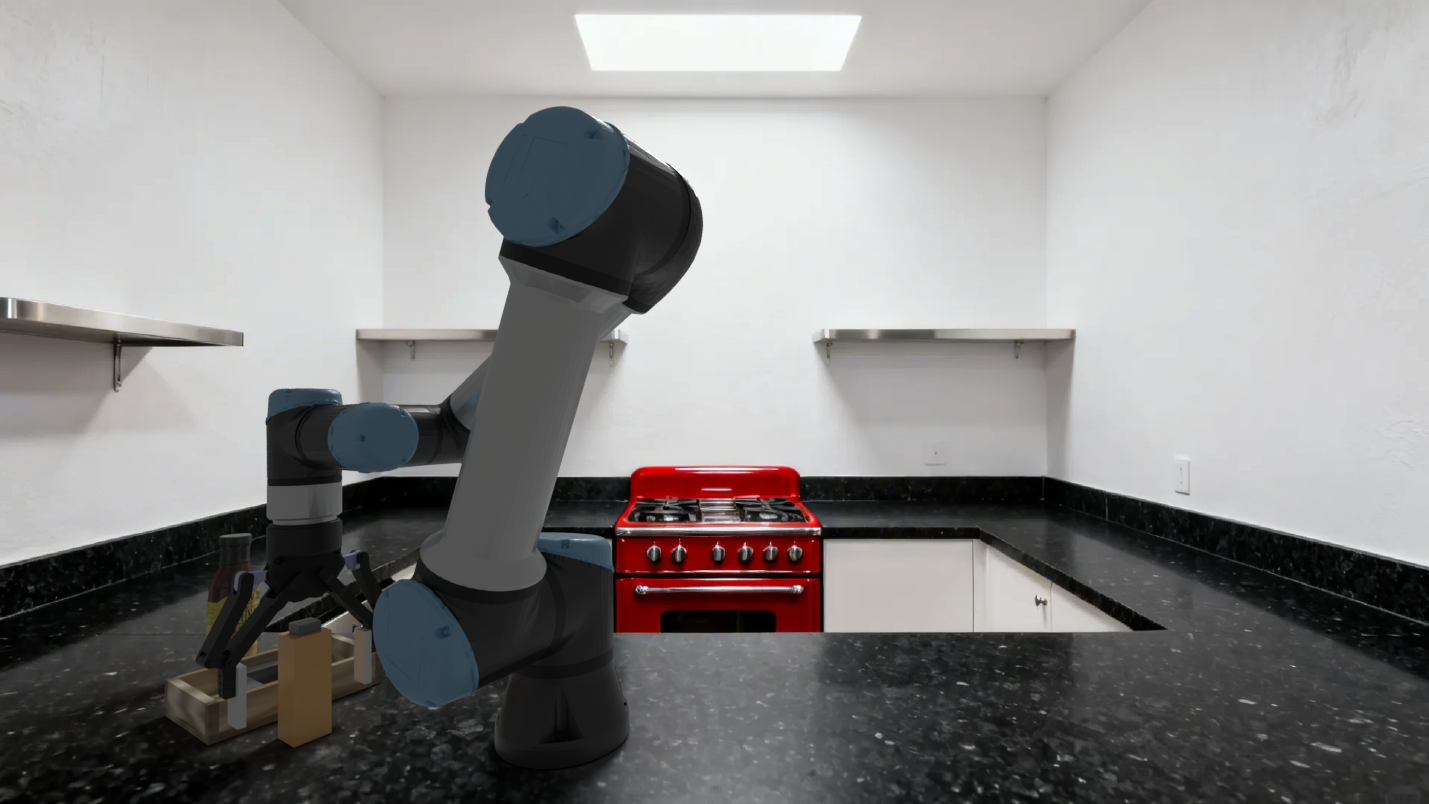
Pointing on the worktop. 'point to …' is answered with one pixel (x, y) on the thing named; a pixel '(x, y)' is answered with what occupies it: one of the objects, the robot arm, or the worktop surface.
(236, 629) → the sauce bottle
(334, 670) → the walled box
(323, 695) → the tan tall block
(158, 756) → the worktop surface
